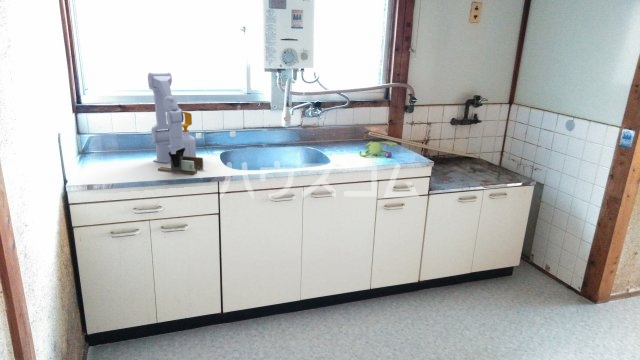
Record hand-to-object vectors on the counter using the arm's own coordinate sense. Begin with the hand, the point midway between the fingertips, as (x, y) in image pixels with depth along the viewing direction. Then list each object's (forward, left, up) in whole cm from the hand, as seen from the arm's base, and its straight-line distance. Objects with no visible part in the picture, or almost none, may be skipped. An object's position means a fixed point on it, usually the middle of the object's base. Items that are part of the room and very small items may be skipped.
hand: (177, 165), depth 213 cm
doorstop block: (0, 0, -2) cm, 2 cm away
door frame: (-4, -1, -3) cm, 5 cm away
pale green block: (0, +5, -2) cm, 5 cm away
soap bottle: (-22, -8, -3) cm, 24 cm away
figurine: (-73, +84, -4) cm, 112 cm away
